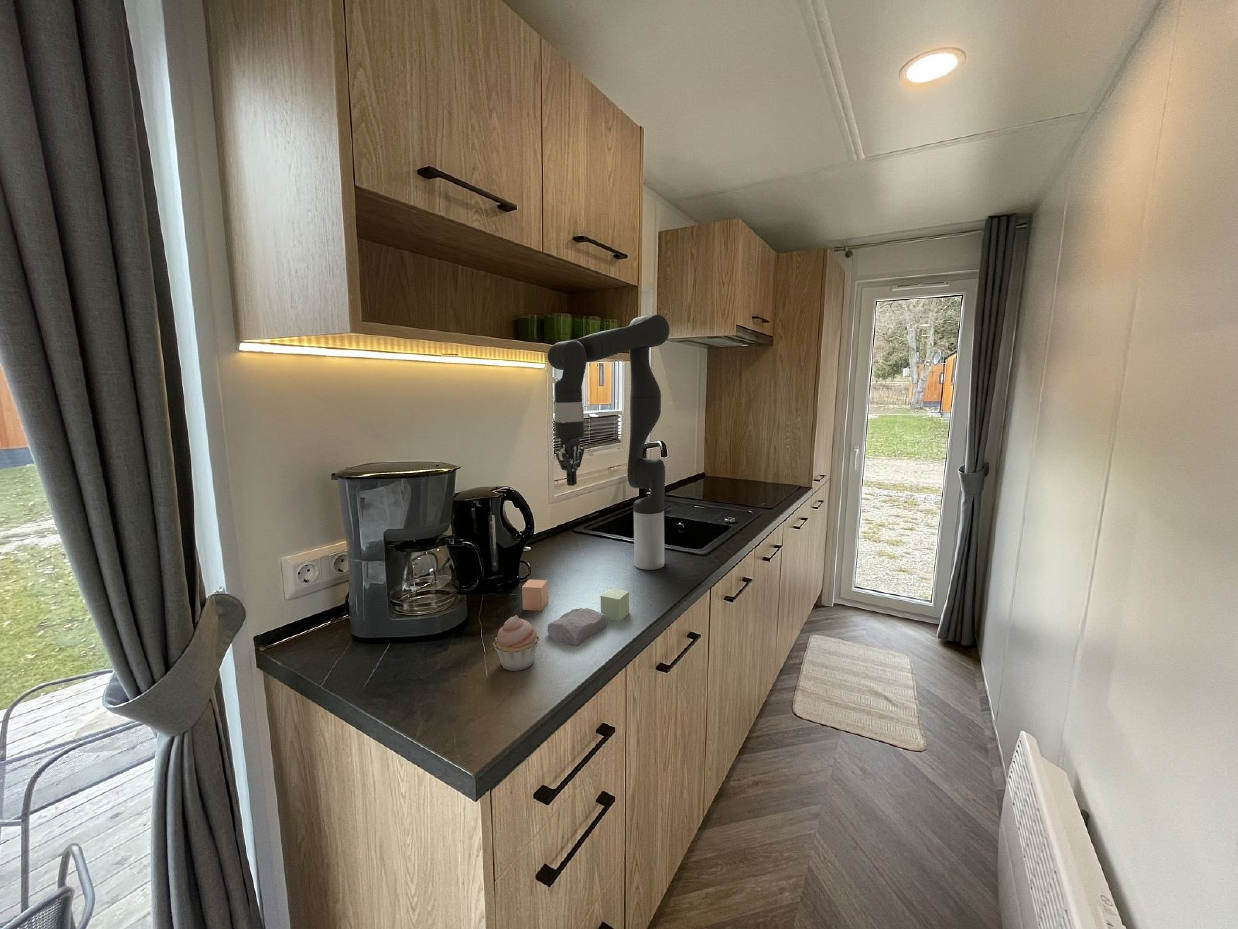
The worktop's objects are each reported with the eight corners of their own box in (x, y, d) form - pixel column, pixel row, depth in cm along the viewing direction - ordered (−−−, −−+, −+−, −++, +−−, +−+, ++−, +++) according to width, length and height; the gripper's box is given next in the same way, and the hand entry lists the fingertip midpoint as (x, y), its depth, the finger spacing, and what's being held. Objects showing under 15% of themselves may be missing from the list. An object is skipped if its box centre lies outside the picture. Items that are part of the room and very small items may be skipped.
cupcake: (551, 662, 99) (548, 615, 98) (510, 682, 93) (507, 631, 92) (525, 646, 106) (522, 601, 105) (485, 663, 100) (482, 616, 98)
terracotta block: (530, 601, 129) (528, 579, 128) (548, 602, 128) (547, 580, 127) (523, 609, 124) (521, 586, 123) (542, 611, 123) (541, 587, 123)
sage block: (611, 609, 123) (610, 588, 123) (629, 613, 121) (628, 591, 120) (601, 617, 119) (600, 595, 118) (619, 621, 117) (619, 599, 116)
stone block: (544, 645, 110) (578, 648, 105) (540, 623, 110) (574, 625, 105) (578, 625, 120) (611, 627, 114) (574, 606, 120) (607, 607, 114)
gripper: (567, 418, 137) (569, 480, 140) (544, 421, 125) (547, 489, 128) (592, 418, 135) (594, 481, 137) (571, 421, 123) (574, 490, 125)
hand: (571, 485), depth 133 cm, fingers closed
